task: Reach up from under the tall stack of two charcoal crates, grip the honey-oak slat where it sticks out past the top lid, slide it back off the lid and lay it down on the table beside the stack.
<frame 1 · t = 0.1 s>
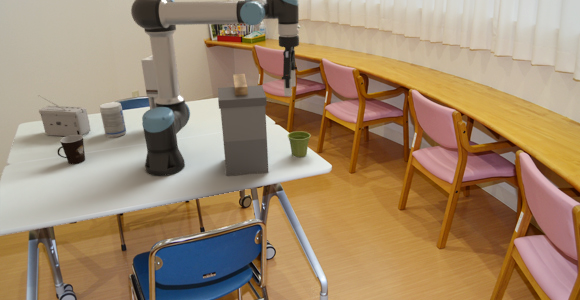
hand: (290, 91, 175), 28 cm above the table, tool pointing down, fingers open, 13 cm apart
coffee mug: (73, 162, 187), on the table
plant pot: (299, 155, 188), on the table
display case: (168, 129, 220), on the table
supplement tub: (116, 134, 215), on the table
oak slat: (240, 87, 173), point 30 cm above the table, touching crate stack
crate stack: (246, 165, 179), on the table
stereo radio cassette player: (68, 134, 217), on the table
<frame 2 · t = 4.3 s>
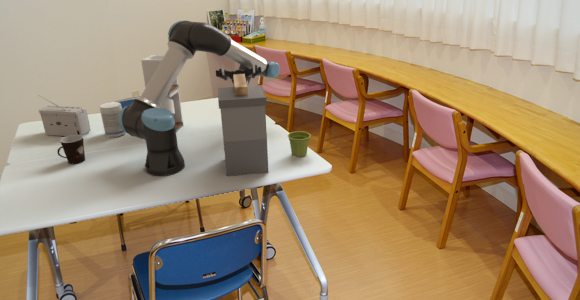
hand: (238, 66, 190), 34 cm above the table, tool pointing upward, fingers open, 13 cm apart
nothing on the table moved.
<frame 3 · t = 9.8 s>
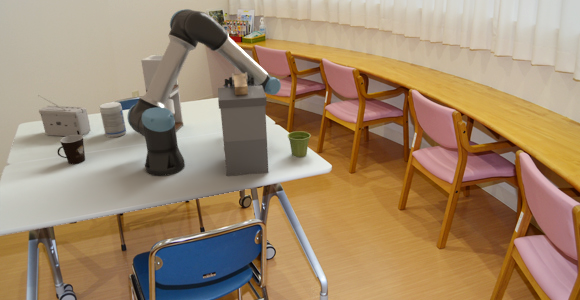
hand: (239, 76, 174), 34 cm above the table, tool pointing upward, fingers closed on oak slat, 4 cm apart
oak slat: (240, 87, 173), point 30 cm above the table, touching gripper
everything else where it was.
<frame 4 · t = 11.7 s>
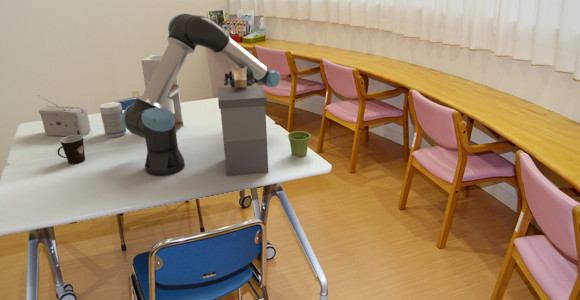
hand: (239, 70, 181), 34 cm above the table, tool pointing upward, fingers closed on oak slat, 4 cm apart
oak slat: (240, 81, 180), point 31 cm above the table, touching gripper
everything else where it was.
when the fingers open (36 cm above the table, at t = 13.8 s): oak slat drops 33 cm, on the table.
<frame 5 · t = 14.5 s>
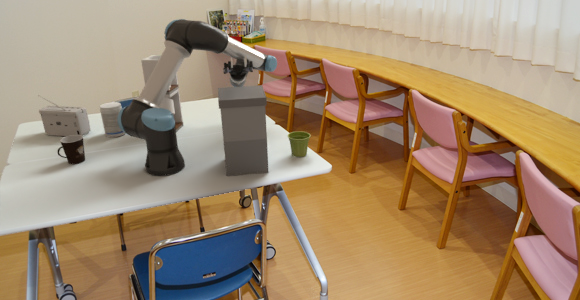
hand: (238, 60, 188), 37 cm above the table, tool pointing upward, fingers open, 5 cm apart
oak slat: (240, 140, 205), on the table
everything else where it was.
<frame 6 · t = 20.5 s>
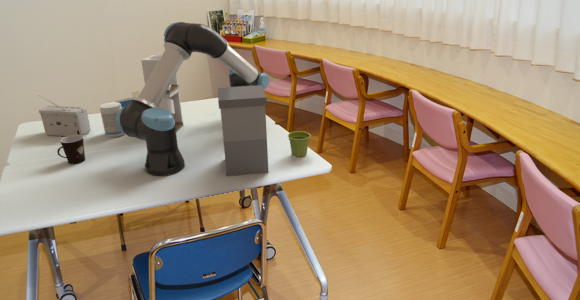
hand: (241, 116, 199), 11 cm above the table, tool horizontal, fingers open, 10 cm apart
nothing on the table moved.
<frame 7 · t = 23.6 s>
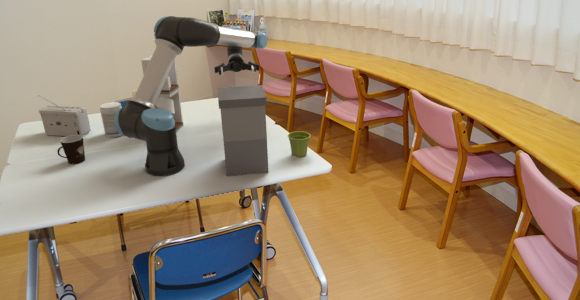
hand: (237, 72, 197), 30 cm above the table, tool horizontal, fingers open, 13 cm apart
nothing on the table moved.
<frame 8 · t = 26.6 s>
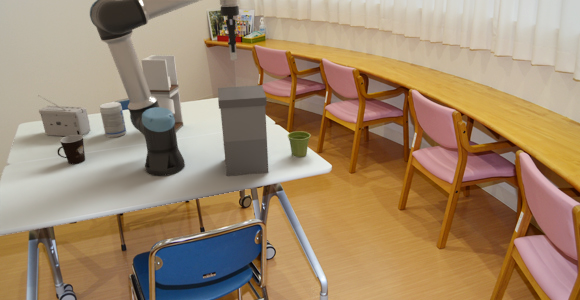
hand: (233, 56, 195), 37 cm above the table, tool pointing down, fingers open, 13 cm apart
nothing on the table moved.
at the end: oak slat inside the target area (4.6 cm from its centre), on the table; oak slat touching table; the gripper is holding nothing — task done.
